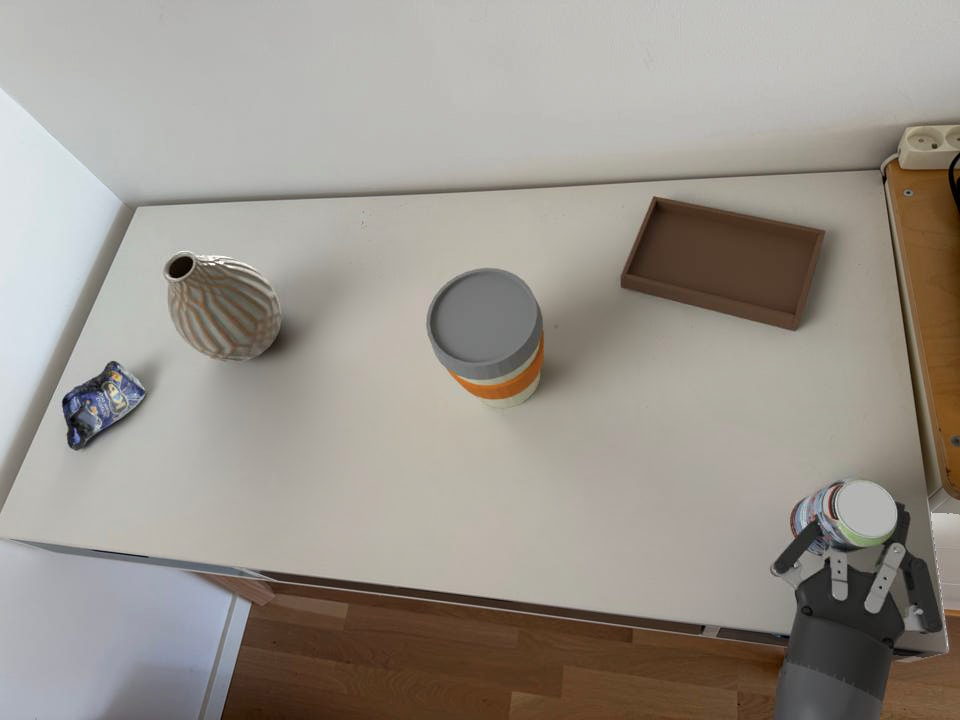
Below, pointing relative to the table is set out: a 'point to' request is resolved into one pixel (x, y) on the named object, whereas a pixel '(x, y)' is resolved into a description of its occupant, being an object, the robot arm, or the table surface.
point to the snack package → (100, 403)
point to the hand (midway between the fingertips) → (873, 497)
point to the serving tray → (724, 261)
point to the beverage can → (847, 515)
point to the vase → (221, 306)
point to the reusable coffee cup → (489, 335)
